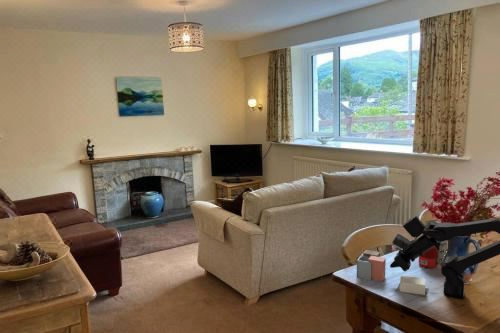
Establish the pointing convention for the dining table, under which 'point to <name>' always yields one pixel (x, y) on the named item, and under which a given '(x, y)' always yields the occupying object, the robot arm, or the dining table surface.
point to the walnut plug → (371, 253)
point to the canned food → (429, 258)
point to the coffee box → (443, 243)
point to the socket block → (363, 267)
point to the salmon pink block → (377, 268)
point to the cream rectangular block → (412, 285)
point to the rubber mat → (413, 293)
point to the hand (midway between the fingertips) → (390, 266)
